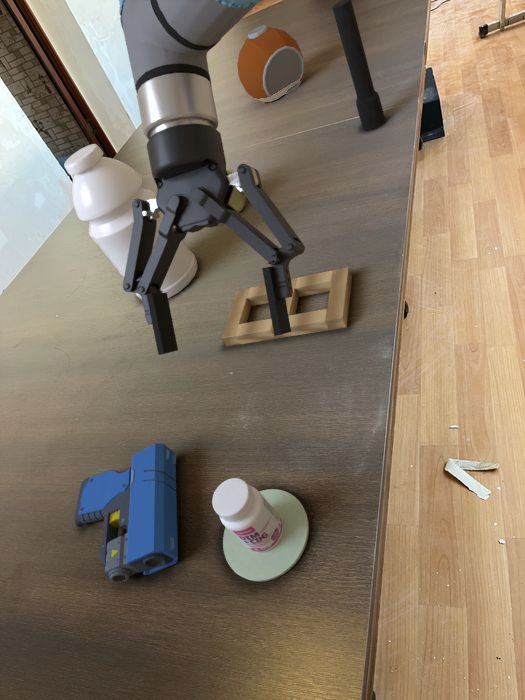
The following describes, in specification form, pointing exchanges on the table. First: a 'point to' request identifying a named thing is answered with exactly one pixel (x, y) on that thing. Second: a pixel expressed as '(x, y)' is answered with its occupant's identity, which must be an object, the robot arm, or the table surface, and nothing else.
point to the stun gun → (134, 513)
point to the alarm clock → (269, 62)
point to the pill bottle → (247, 515)
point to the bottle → (118, 212)
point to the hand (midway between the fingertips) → (222, 344)
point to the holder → (291, 309)
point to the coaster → (283, 552)
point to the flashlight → (358, 66)
